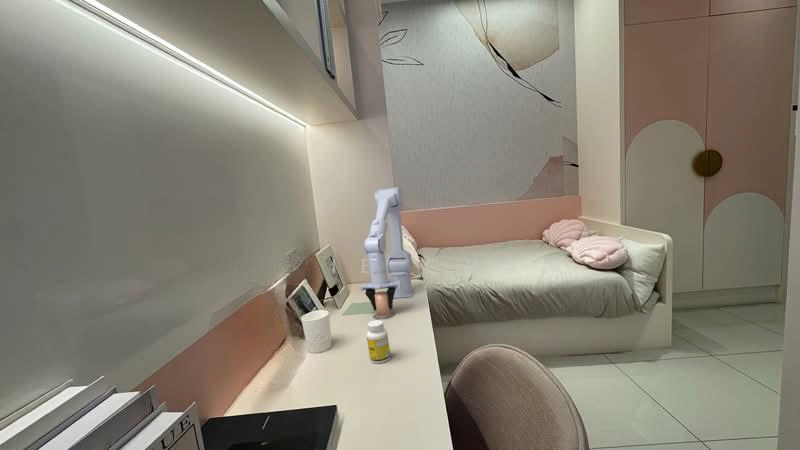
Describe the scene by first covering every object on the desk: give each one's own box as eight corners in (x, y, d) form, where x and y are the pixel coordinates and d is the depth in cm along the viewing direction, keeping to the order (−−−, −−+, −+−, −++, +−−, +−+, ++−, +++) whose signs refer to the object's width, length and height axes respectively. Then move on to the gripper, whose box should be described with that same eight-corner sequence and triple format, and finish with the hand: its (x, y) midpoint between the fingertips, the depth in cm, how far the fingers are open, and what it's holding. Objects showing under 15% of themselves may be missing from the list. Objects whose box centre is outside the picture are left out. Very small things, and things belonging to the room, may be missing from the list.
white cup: (336, 340, 106) (332, 309, 105) (329, 353, 98) (323, 319, 97) (312, 342, 107) (307, 311, 106) (302, 355, 99) (296, 321, 98)
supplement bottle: (367, 357, 93) (362, 322, 92) (386, 351, 94) (382, 317, 93) (373, 366, 88) (368, 328, 87) (393, 360, 89) (388, 323, 88)
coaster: (375, 313, 127) (375, 311, 127) (397, 311, 126) (397, 310, 126) (370, 321, 119) (370, 320, 119) (393, 320, 118) (393, 319, 118)
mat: (351, 303, 140) (351, 303, 140) (380, 301, 138) (380, 301, 138) (342, 315, 128) (342, 314, 128) (373, 313, 126) (373, 312, 126)
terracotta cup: (378, 313, 125) (375, 291, 125) (392, 312, 124) (389, 290, 124) (375, 318, 120) (372, 296, 119) (390, 317, 119) (387, 295, 118)
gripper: (354, 275, 118) (360, 314, 119) (396, 272, 116) (401, 311, 117) (360, 270, 125) (365, 307, 126) (400, 267, 122) (404, 304, 124)
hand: (383, 308), depth 122 cm, fingers closed on terracotta cup, 5 cm apart
